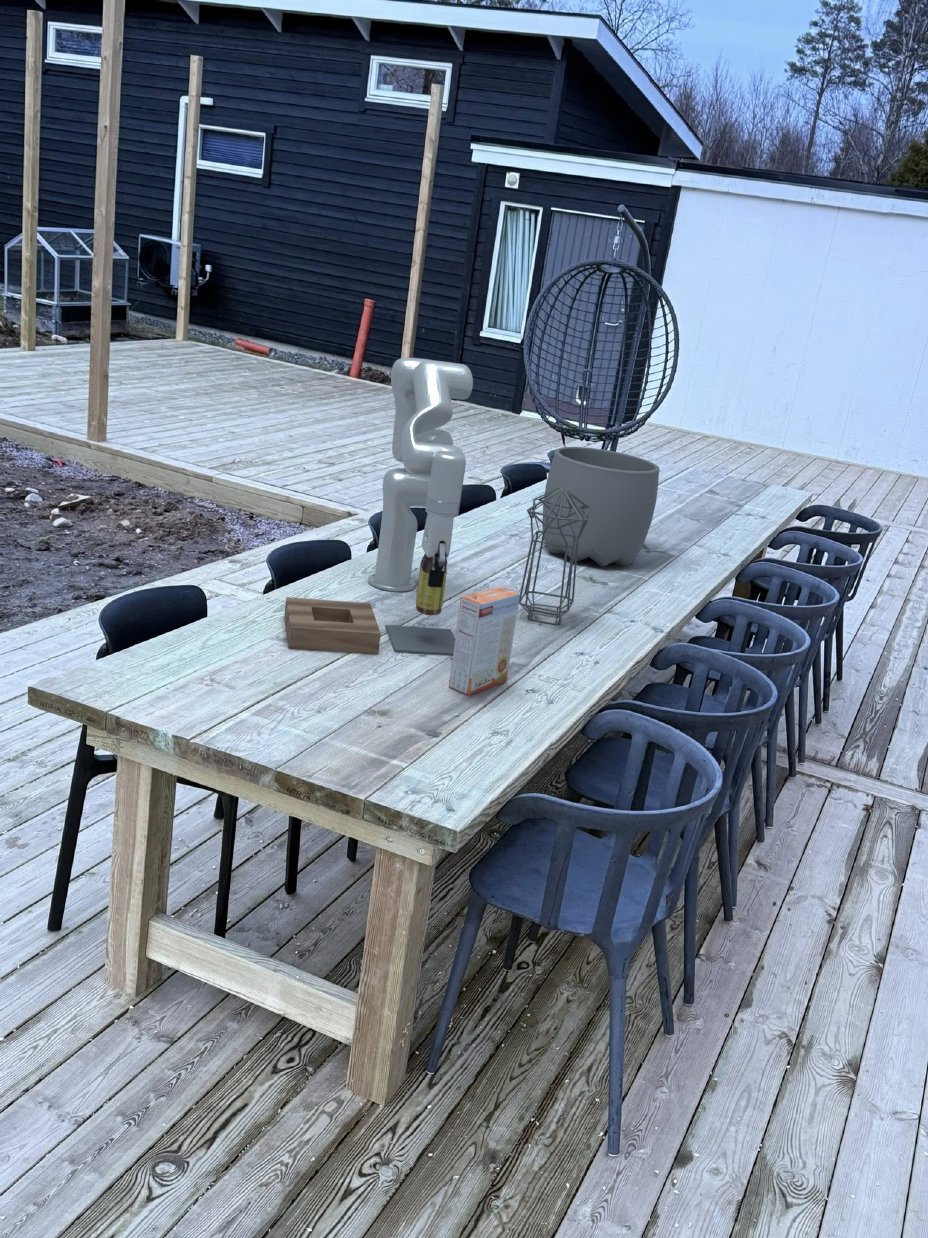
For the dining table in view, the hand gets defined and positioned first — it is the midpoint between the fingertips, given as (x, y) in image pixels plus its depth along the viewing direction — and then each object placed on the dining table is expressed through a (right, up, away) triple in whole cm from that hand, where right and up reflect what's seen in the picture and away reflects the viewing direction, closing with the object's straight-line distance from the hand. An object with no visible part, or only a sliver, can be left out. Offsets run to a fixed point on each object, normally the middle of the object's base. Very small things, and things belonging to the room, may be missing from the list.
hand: (432, 581), depth 260 cm
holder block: (-24, -12, 0) cm, 27 cm away
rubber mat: (-2, -14, +5) cm, 15 cm away
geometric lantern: (+27, -9, +34) cm, 45 cm away
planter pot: (+47, +11, +100) cm, 111 cm away
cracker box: (+10, -23, -15) cm, 29 cm away
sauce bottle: (-1, -7, +3) cm, 8 cm away
